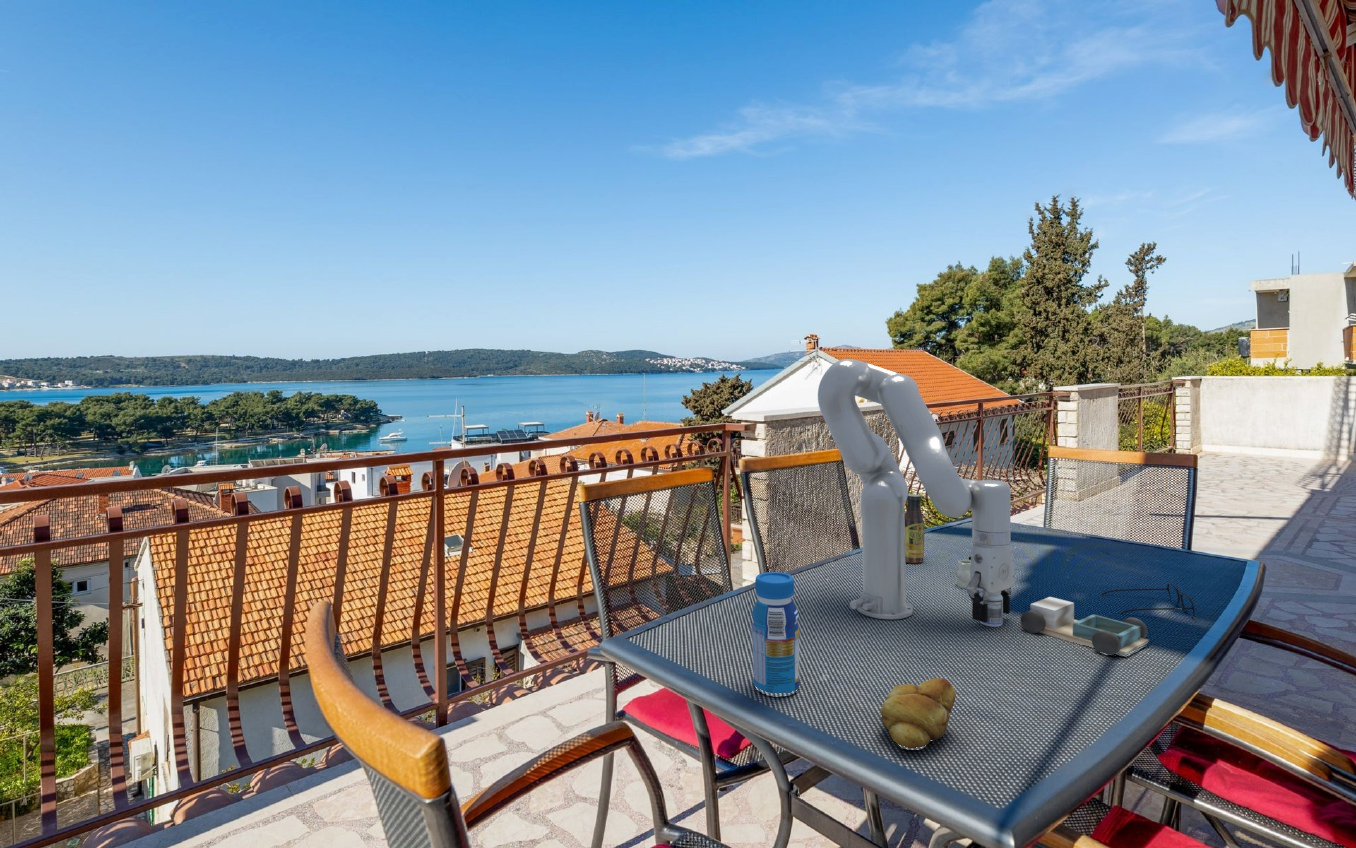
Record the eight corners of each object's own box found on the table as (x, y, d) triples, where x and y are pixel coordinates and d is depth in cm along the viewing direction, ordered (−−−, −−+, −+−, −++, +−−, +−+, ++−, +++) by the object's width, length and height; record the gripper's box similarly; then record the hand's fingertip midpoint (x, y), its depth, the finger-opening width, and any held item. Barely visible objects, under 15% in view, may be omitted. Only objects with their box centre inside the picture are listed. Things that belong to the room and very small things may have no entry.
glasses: (1196, 622, 139) (1194, 600, 139) (1117, 624, 144) (1114, 602, 144) (1170, 601, 153) (1167, 581, 153) (1098, 603, 158) (1095, 583, 158)
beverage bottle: (742, 688, 114) (740, 577, 113) (771, 672, 120) (769, 567, 118) (781, 704, 108) (779, 587, 107) (810, 687, 114) (808, 576, 112)
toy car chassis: (1121, 660, 121) (1122, 633, 121) (1016, 628, 138) (1016, 604, 137) (1152, 643, 128) (1152, 618, 128) (1049, 615, 145) (1049, 592, 144)
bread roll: (928, 766, 90) (928, 710, 89) (863, 741, 96) (862, 689, 96) (960, 728, 99) (960, 677, 99) (899, 708, 106) (899, 660, 105)
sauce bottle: (910, 565, 187) (909, 497, 186) (897, 559, 193) (896, 494, 192) (929, 563, 188) (929, 496, 187) (916, 557, 194) (915, 492, 193)
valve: (975, 591, 163) (992, 580, 171) (975, 566, 162) (992, 556, 171) (949, 586, 167) (966, 575, 176) (949, 561, 167) (966, 552, 175)
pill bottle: (982, 617, 144) (982, 581, 144) (1005, 622, 141) (1005, 584, 141) (976, 624, 141) (976, 586, 140) (999, 629, 138) (999, 590, 137)
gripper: (984, 547, 132) (984, 630, 133) (1030, 534, 141) (1029, 612, 142) (951, 540, 138) (951, 620, 139) (997, 528, 148) (997, 603, 149)
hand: (991, 616), depth 141 cm, fingers open, 7 cm apart
